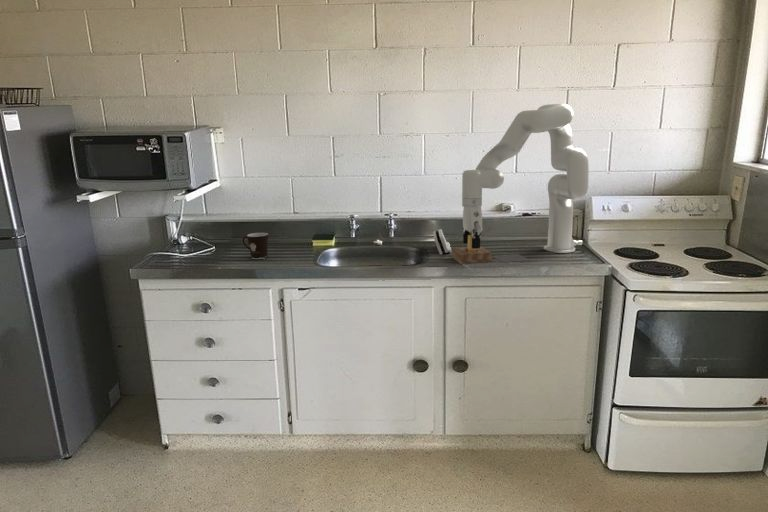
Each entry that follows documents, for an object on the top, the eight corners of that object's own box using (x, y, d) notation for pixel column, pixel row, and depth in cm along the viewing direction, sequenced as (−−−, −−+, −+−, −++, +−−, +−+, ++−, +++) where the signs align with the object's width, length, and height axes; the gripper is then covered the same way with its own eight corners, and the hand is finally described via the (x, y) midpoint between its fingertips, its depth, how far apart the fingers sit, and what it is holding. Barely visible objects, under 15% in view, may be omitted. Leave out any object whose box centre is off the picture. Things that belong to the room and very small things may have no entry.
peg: (473, 259, 226) (474, 234, 223) (476, 260, 223) (476, 235, 220) (466, 259, 225) (466, 234, 223) (469, 261, 222) (469, 236, 220)
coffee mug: (273, 258, 236) (271, 234, 234) (254, 261, 231) (252, 237, 228) (260, 253, 245) (259, 231, 242) (242, 257, 239) (240, 233, 237)
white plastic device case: (452, 254, 234) (443, 232, 232) (441, 258, 235) (432, 236, 233) (450, 246, 250) (442, 225, 249) (440, 249, 251) (432, 228, 249)
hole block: (480, 255, 231) (480, 246, 230) (491, 262, 219) (491, 252, 218) (452, 257, 228) (452, 248, 227) (461, 264, 217) (461, 254, 216)
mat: (517, 255, 230) (517, 253, 230) (529, 261, 220) (529, 259, 219) (491, 257, 228) (491, 255, 228) (502, 263, 218) (502, 262, 217)
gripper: (489, 204, 211) (488, 249, 215) (473, 199, 228) (472, 240, 231) (470, 205, 210) (470, 250, 214) (455, 200, 226) (455, 242, 230)
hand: (471, 245), depth 222 cm, fingers open, 9 cm apart
